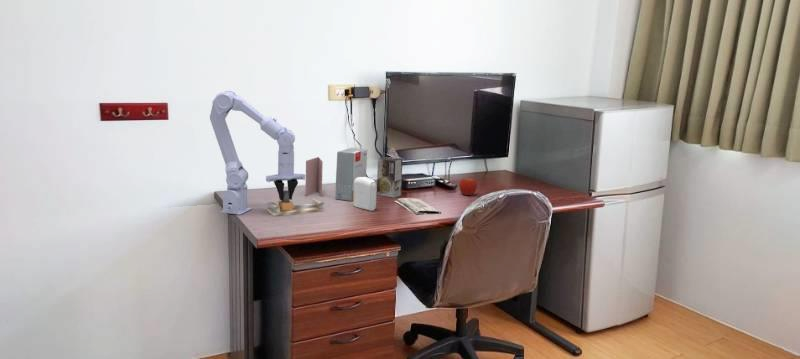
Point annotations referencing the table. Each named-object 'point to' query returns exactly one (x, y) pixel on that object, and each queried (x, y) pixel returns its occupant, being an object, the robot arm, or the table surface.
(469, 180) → the apple
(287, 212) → the rail
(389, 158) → the coffee box
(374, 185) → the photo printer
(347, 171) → the hard drive box
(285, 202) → the carriage
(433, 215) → the table surface
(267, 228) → the table surface
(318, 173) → the greeting card
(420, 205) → the newspaper
